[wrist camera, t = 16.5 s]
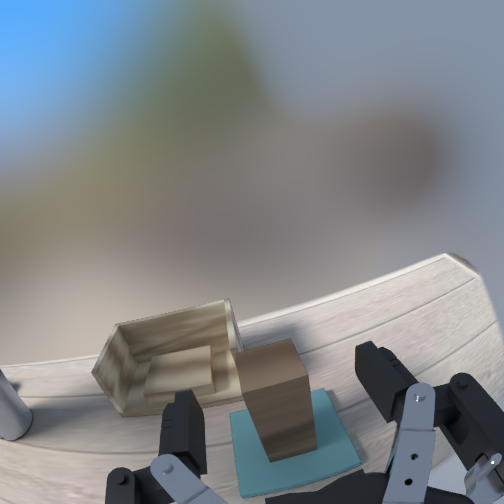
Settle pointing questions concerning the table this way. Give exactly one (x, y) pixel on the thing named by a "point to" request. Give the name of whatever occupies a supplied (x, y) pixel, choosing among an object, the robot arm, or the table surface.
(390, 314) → the table surface
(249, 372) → the walnut block
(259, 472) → the mat
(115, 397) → the crate
